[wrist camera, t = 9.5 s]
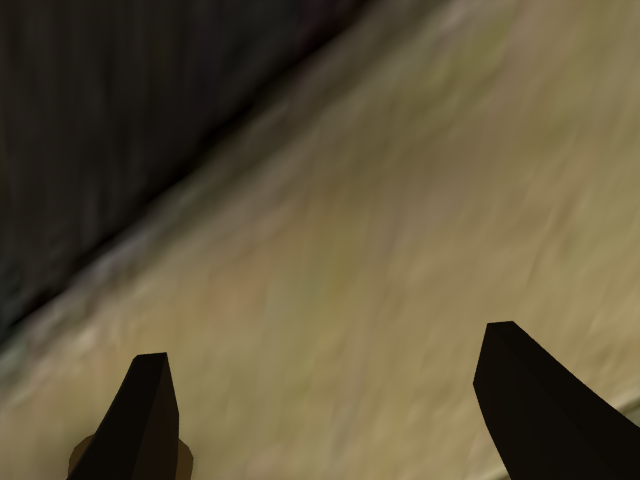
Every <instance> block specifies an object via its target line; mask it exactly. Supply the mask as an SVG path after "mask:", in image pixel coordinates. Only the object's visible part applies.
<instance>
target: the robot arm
mask: <svg viewBox="0 0 640 480" xmlns="http://www.w3.org/2000/svg"><path fill="white" fill-rule="evenodd" d="M473 386H474V389H475V393H476V396H477V399H478V402H479V406H480V409H481V412H482V415H483V418H484V420H485V423H486V426H487V428H488V431H489V433H490V435H491V437H492V439H493V442H494V444H495V446H496V448H497V450H498V452H499V454H500V457H501V459H502V461H503V463H504V465H505V467H506V469H507V471H508V474H509V476H510V478H511V480H640V428H639V427H638V426H637V425H635V424H634V423H633V422H631V421H630V420H629V419H627V418H626V417H625V416H623V415H622V414H621V413H620V412H618V411H617V410H616V409H614V408H613V407H612V406H610V405H609V404H608V403H607V402H605V401H604V400H603V399H602V398H600V397H599V396H598V395H597V394H596V393H594V392H593V391H592V390H591V389H589V388H588V387H587V386H586V385H585V384H583V383H582V382H581V381H580V380H579V379H578V378H576V377H575V376H574V375H573V374H572V373H571V372H569V371H568V370H567V369H566V368H565V367H564V366H563V365H561V364H560V363H559V362H558V361H557V360H556V359H555V358H554V357H553V356H551V355H550V354H549V353H548V352H547V351H546V350H545V349H544V348H542V347H541V346H540V345H539V344H538V343H537V342H536V341H535V340H534V339H533V338H531V337H530V336H529V335H528V334H527V333H526V332H525V331H524V330H522V329H521V328H520V327H519V326H518V325H517V324H516V323H515V322H513V321H506V322H495V323H487V327H486V331H485V335H484V339H483V343H482V347H481V352H480V356H479V360H478V364H477V368H476V372H475V377H474V381H473ZM178 440H179V411H178V406H177V401H176V396H175V391H174V387H173V382H172V377H171V372H170V367H169V362H168V357H167V352H164V353H153V354H142V355H137V356H136V357H135V358H134V359H133V361H132V363H131V365H130V367H129V370H128V372H127V374H126V376H125V378H124V380H123V382H122V385H121V387H120V389H119V391H118V393H117V395H116V396H115V398H114V400H113V402H112V404H111V406H110V408H109V410H108V412H107V413H106V415H105V417H104V419H103V420H102V422H101V424H100V426H99V427H98V429H97V431H96V433H95V434H94V436H93V438H92V440H91V441H90V443H89V445H88V446H87V448H86V450H85V451H84V453H83V454H82V456H81V457H80V459H79V460H78V462H77V464H76V465H75V467H74V468H73V470H72V471H71V473H70V474H69V476H68V478H67V479H66V480H175V477H176V470H177V462H178Z"/></svg>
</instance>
